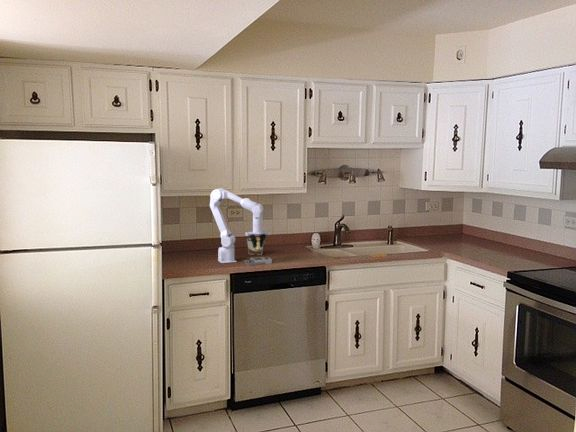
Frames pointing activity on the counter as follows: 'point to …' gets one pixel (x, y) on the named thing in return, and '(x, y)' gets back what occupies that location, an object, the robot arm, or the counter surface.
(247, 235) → the robot arm
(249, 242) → the food container
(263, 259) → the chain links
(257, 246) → the brass pin
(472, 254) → the counter surface
